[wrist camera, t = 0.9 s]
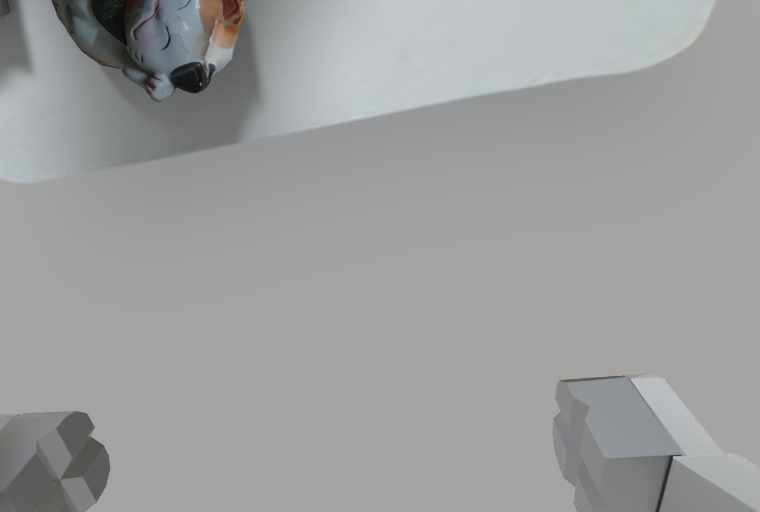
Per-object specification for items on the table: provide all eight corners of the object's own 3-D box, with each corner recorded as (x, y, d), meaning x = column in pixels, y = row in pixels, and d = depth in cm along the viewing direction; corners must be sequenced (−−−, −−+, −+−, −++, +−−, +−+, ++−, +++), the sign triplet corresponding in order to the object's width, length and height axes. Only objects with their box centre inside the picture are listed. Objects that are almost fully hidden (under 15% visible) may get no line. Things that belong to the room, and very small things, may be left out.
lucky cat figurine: (119, -144, 38) (177, -116, 30) (232, -31, 47) (297, 12, 40) (24, 9, 40) (55, 72, 32) (151, 87, 50) (198, 148, 42)
